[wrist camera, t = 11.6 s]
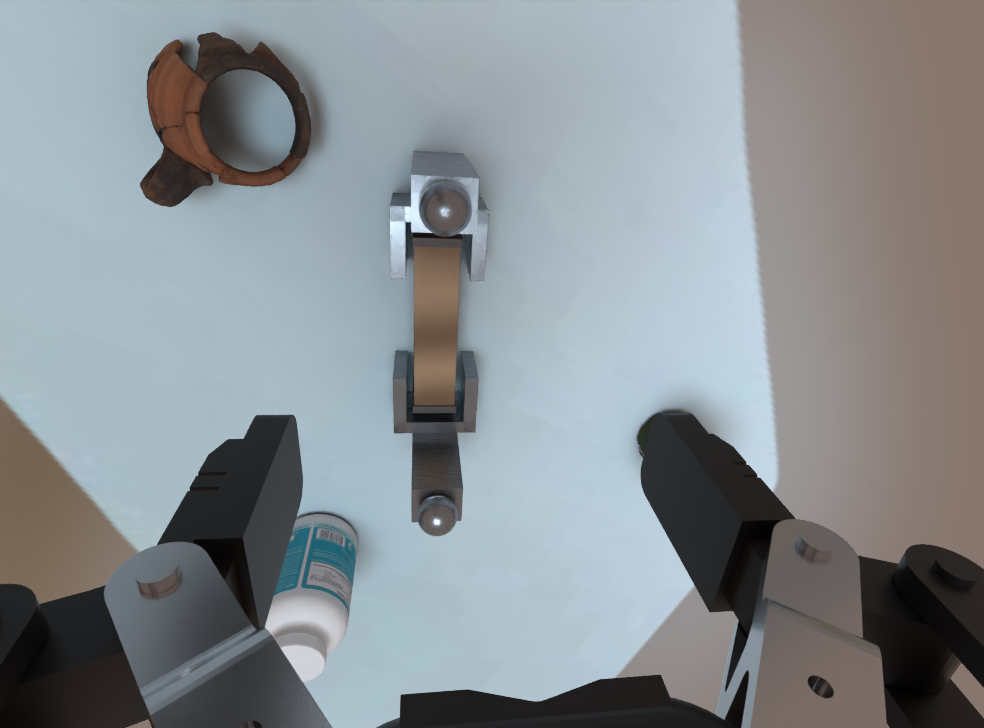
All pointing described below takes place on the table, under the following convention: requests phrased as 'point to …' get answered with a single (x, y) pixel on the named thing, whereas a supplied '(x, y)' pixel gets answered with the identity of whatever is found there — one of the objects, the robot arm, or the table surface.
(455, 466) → the ball knob clevis bracket
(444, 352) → the walnut rail
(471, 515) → the table surface
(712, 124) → the table surface
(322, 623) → the pill bottle
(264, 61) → the broken pottery vessel
